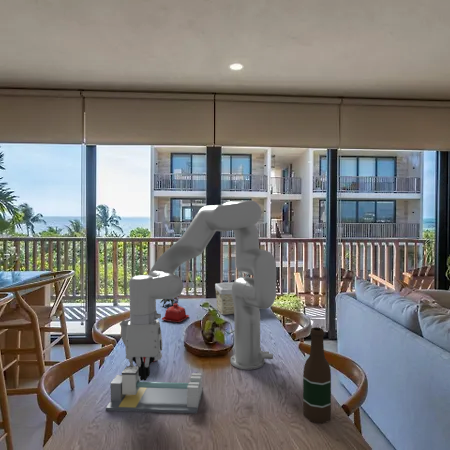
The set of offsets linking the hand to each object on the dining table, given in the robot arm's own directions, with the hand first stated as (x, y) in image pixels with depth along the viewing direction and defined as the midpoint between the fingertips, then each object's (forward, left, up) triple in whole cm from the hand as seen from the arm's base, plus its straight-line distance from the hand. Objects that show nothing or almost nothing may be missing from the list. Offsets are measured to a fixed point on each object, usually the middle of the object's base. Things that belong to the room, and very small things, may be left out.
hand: (144, 378), depth 99 cm
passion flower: (+15, -96, -7) cm, 98 cm away
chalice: (+9, -15, -7) cm, 19 cm away
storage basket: (-25, -90, -7) cm, 94 cm away
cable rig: (-4, 0, -6) cm, 7 cm away
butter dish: (+7, -73, -7) cm, 74 cm away
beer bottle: (-50, +5, -7) cm, 50 cm away
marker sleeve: (+4, 0, -4) cm, 6 cm away
